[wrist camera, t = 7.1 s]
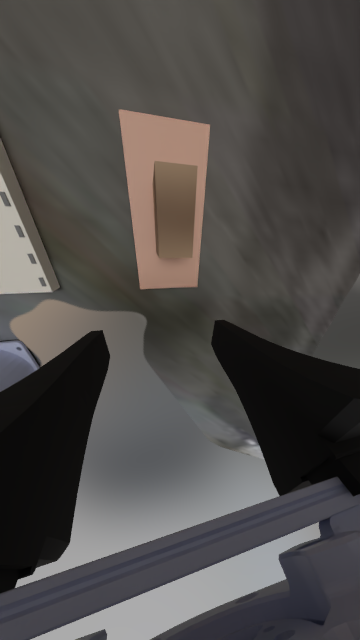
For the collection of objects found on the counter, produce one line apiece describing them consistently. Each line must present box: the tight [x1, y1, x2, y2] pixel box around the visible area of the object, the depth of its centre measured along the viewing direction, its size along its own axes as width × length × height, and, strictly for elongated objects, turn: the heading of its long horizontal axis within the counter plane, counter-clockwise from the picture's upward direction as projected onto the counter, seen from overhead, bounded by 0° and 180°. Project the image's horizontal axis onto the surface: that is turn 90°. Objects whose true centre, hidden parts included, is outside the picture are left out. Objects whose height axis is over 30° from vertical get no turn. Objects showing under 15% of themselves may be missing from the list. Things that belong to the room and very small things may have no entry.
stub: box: [119, 109, 210, 289], centre depth 12 cm, size 12×6×6 cm, turn 179°
